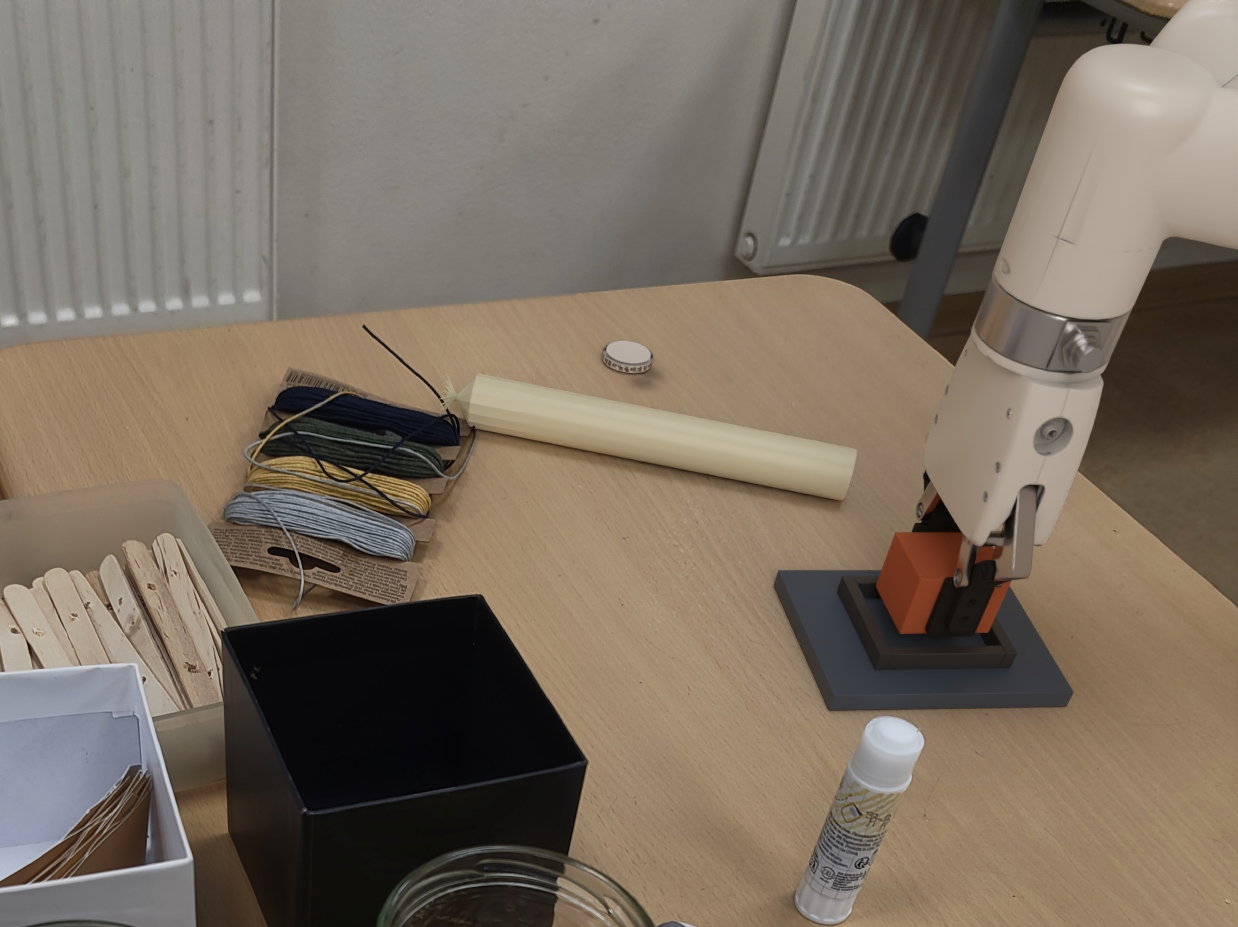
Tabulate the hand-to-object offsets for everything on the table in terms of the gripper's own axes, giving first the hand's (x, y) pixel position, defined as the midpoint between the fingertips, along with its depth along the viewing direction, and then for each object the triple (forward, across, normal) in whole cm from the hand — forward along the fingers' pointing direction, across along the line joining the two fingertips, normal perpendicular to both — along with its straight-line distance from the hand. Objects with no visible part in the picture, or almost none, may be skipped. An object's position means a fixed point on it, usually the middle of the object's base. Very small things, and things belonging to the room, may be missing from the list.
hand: (934, 603), depth 92 cm
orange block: (0, 0, 0) cm, 0 cm away
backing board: (+3, 0, 0) cm, 3 cm away
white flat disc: (+3, +36, +12) cm, 38 cm away
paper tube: (+3, +22, +14) cm, 26 cm away
